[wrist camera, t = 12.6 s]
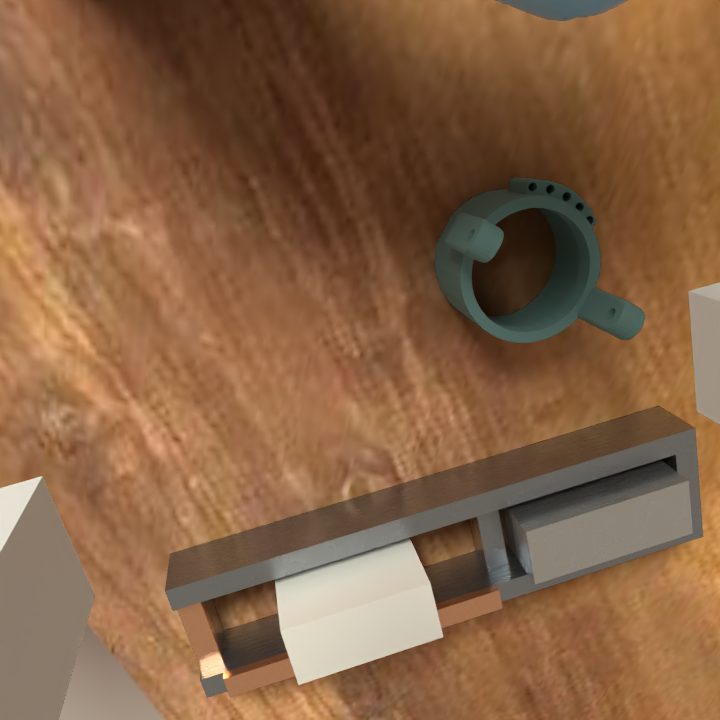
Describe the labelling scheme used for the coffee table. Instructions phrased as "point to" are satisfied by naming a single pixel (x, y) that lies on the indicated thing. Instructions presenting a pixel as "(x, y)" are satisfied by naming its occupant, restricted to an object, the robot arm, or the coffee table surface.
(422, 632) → the block
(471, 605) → the rack
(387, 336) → the coffee table surface
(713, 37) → the coffee table surface
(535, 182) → the teal cylindrical holder
